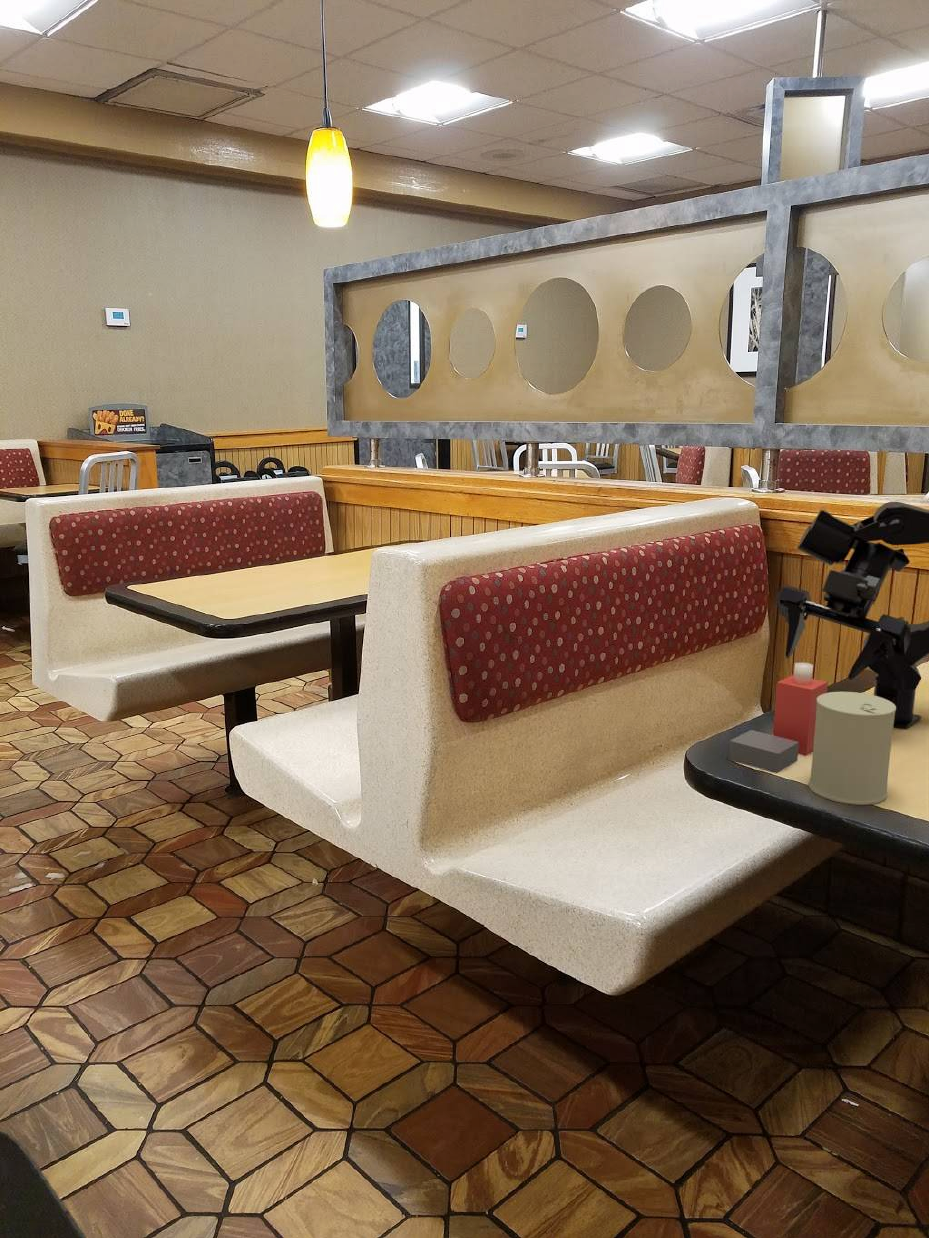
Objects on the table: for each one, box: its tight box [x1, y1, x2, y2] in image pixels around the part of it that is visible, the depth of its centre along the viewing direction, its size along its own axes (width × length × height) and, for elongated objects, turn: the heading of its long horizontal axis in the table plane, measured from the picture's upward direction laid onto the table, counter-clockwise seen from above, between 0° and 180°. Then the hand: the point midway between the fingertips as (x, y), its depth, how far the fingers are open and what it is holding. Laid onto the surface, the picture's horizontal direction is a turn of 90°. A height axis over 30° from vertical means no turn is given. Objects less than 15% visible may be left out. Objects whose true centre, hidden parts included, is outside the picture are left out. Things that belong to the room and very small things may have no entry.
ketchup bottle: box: [772, 662, 829, 757], centre depth 135 cm, size 5×5×12 cm
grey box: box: [728, 729, 799, 774], centre depth 131 cm, size 6×7×3 cm
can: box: [808, 691, 896, 806], centre depth 120 cm, size 9×9×12 cm
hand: (817, 667), depth 139 cm, fingers open, 9 cm apart
